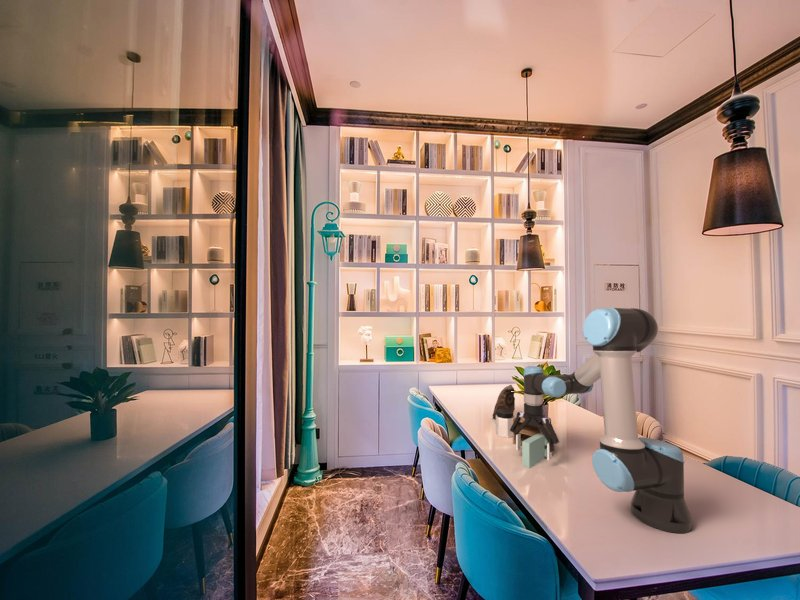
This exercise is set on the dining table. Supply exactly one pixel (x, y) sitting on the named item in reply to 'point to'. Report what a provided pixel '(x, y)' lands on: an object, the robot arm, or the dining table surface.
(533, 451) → the door
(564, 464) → the dining table surface
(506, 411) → the jar
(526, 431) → the cabinet
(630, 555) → the dining table surface
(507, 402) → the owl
